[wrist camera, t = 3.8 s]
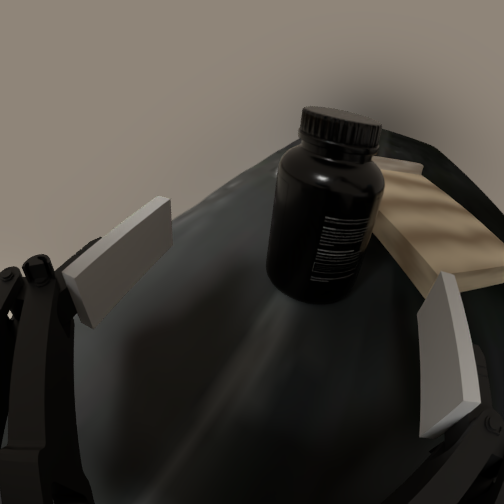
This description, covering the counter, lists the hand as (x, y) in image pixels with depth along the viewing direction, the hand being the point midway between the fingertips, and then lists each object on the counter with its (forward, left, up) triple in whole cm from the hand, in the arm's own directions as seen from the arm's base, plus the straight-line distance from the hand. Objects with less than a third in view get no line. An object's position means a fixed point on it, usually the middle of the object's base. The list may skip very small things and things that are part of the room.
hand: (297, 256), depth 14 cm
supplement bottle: (+6, -4, -7) cm, 10 cm away
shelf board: (+13, -21, -6) cm, 25 cm away
